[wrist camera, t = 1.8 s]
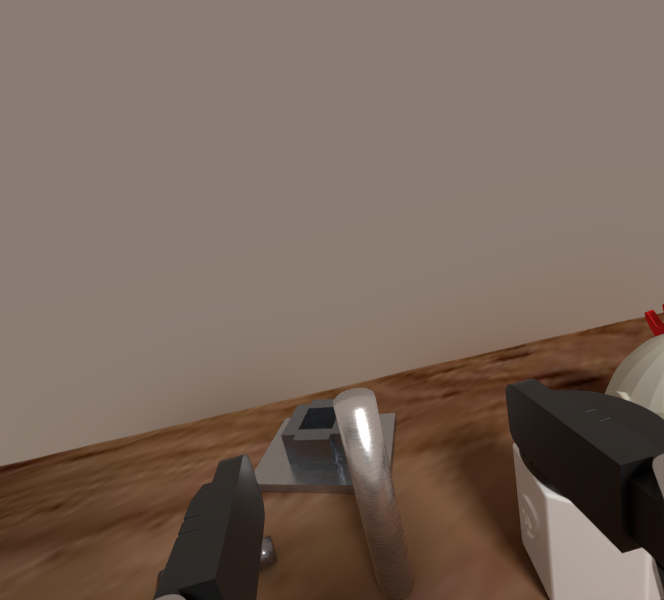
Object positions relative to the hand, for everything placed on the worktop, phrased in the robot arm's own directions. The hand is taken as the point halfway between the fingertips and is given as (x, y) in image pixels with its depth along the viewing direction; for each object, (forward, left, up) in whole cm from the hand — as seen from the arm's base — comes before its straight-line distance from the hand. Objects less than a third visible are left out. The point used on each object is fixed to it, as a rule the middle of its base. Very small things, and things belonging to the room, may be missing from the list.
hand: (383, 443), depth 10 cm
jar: (+10, +12, -21) cm, 27 cm away
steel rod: (-4, +10, -21) cm, 24 cm away
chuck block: (-13, +24, -21) cm, 35 cm away
